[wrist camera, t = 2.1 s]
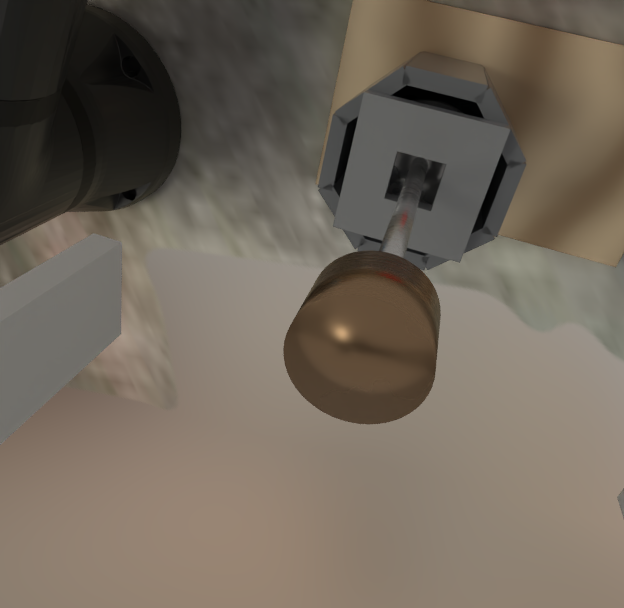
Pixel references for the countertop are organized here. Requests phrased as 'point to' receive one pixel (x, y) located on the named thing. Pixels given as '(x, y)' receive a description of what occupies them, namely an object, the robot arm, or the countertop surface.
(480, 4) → the countertop surface
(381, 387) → the plunger
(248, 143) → the countertop surface
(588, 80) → the board
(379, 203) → the gray octagonal holder
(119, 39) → the robot arm
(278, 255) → the countertop surface
